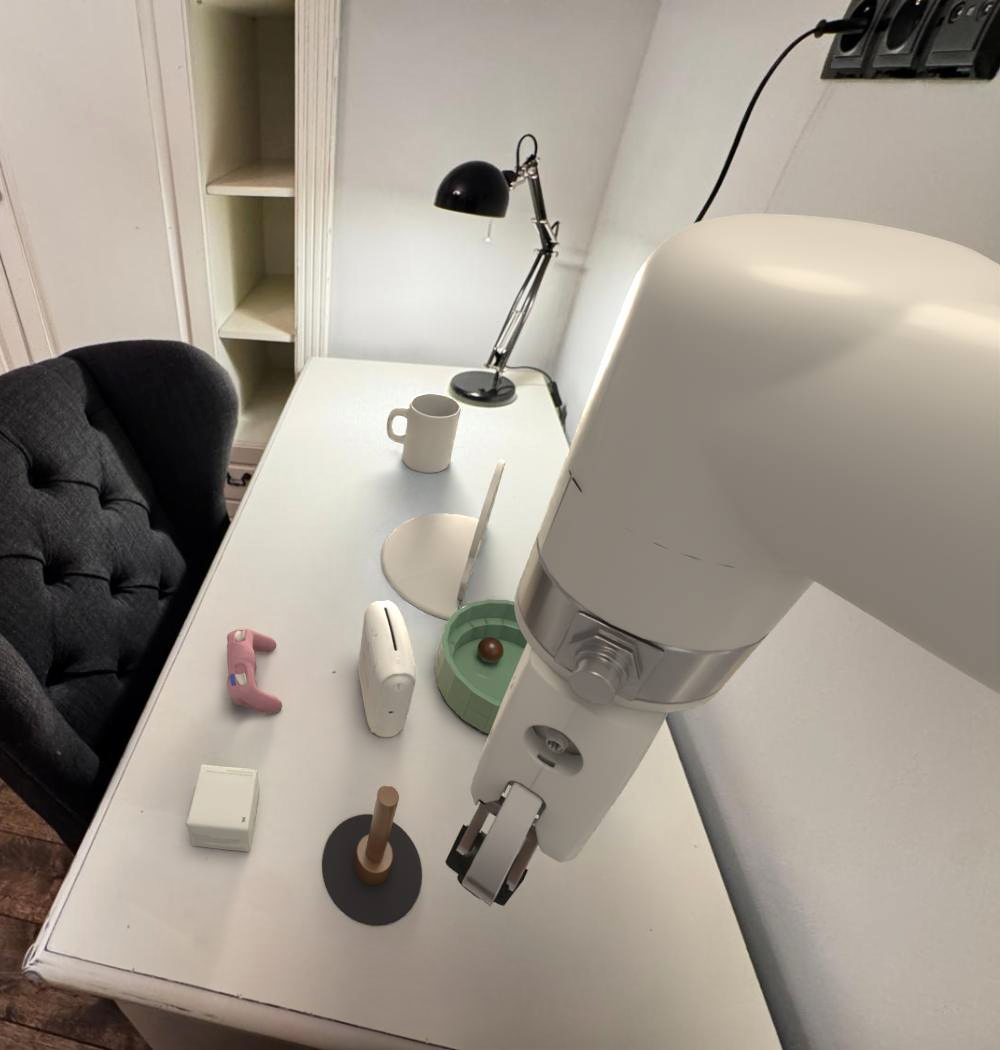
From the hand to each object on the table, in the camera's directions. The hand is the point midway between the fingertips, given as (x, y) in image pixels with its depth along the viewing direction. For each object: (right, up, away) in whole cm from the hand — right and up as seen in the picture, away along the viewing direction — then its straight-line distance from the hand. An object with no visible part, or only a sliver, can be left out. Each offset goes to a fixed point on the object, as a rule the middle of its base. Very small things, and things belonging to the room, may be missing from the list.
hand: (512, 804), depth 32 cm
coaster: (-5, -15, +20) cm, 26 cm away
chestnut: (+11, +1, +36) cm, 37 cm away
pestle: (-5, -15, +19) cm, 25 cm away
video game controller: (-17, -3, +35) cm, 39 cm away
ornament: (+7, +11, +51) cm, 53 cm away
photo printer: (-3, -4, +33) cm, 34 cm away
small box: (-19, -13, +23) cm, 32 cm away
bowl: (+12, -3, +35) cm, 37 cm away
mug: (+9, +28, +71) cm, 76 cm away
